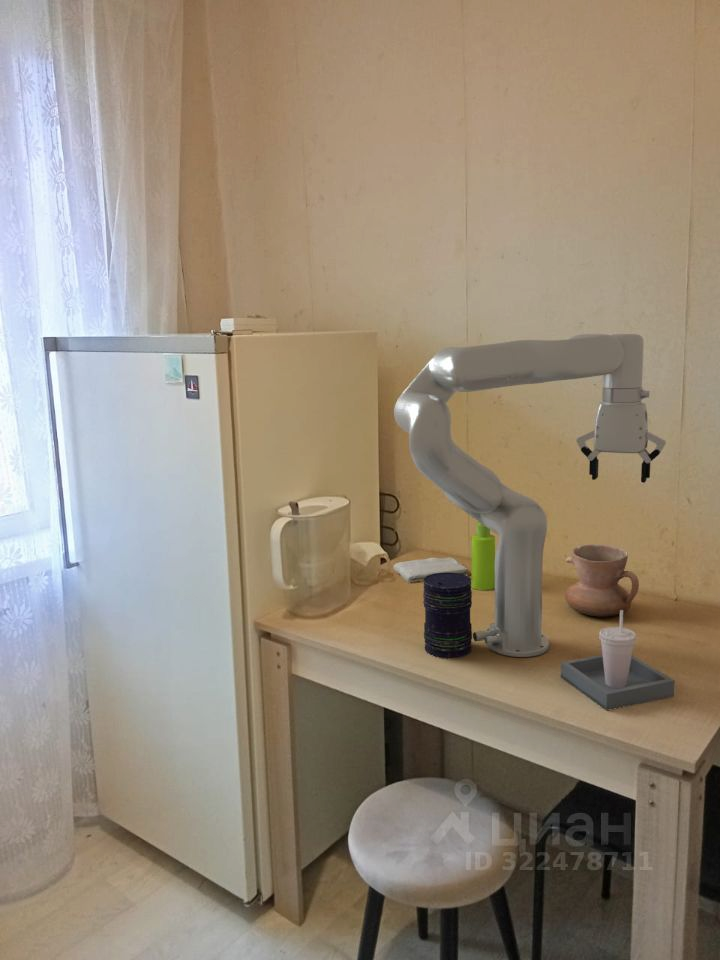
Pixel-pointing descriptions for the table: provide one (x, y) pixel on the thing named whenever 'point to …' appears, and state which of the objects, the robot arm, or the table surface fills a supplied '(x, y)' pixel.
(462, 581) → the storage jar
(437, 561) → the washcloth
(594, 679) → the tray
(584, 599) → the ceramic jug
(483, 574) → the soap dispenser
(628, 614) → the table surface
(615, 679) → the smoothie
